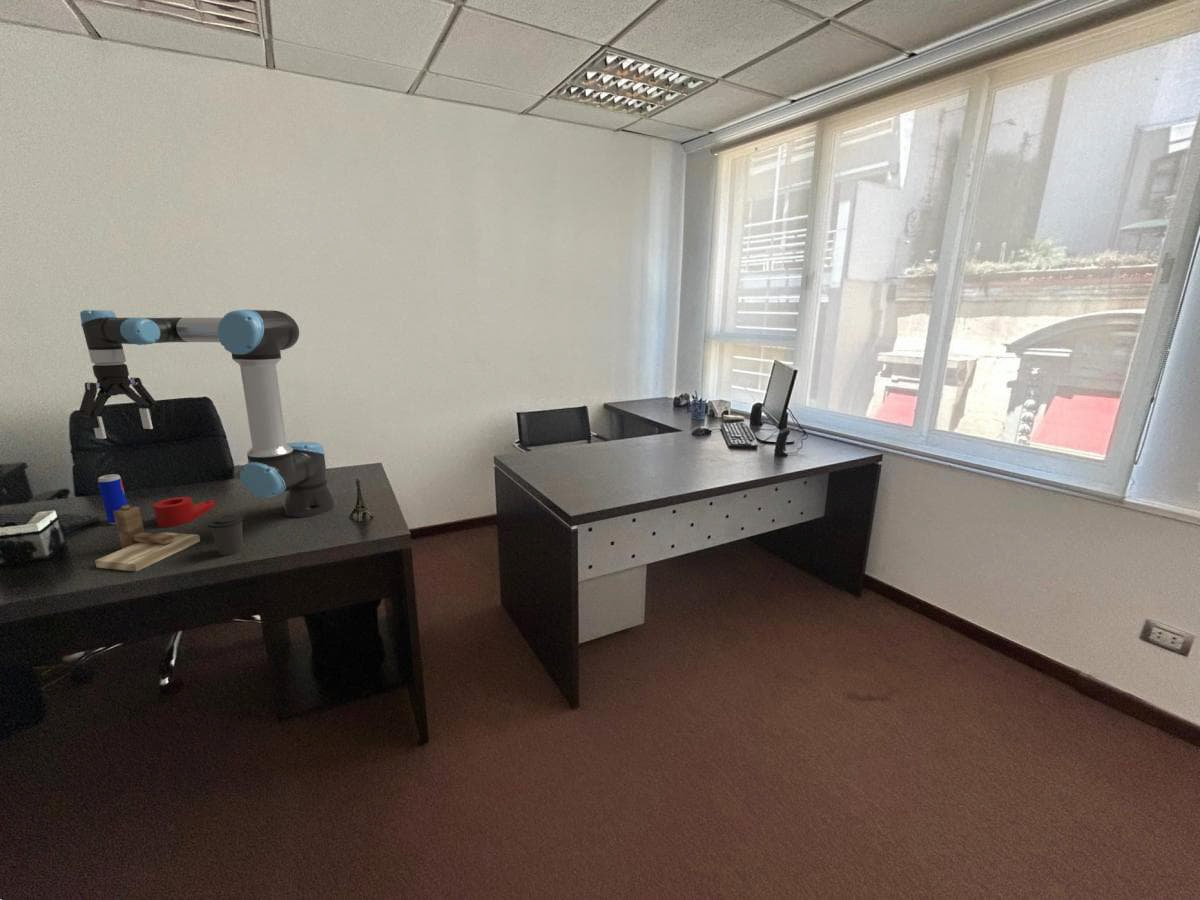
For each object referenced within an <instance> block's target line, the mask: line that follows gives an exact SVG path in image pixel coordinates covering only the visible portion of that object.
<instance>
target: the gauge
mask: <svg viewBox="0 0 1200 900" xmlns="http://www.w3.org/2000/svg"><path fill="white" fill-rule="evenodd" d="M121 508H122V509H119V510H116V511H113V514H114V518H115V522H116V524H115V525H116V529H117V532H118V537H119V540H120V545H121V548H122V549H123V548H126V547H128V546H131V545H133V544H135V543H138V542H149V543H160V544H167V543H169V542H171V541H174V538H173V535H167V534H159V533H154V532H152V533H151V532H145V527H144V523H143V520H142V515H141V514H142V513H141V511H140V507H139V506H130V504H127V505H123V506H121Z"/></svg>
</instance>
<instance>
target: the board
mask: <svg viewBox="0 0 1200 900" xmlns="http://www.w3.org/2000/svg"><path fill="white" fill-rule="evenodd" d="M158 534H167V535H173V538H174V541H171V542H169V543H167V544H160V543H149V542H138V543H135V544H133V545H131V546H128V547H126V548H123V549H118V550H117V551H115V552H114V551H113V552H112V553H110V554H106V555H104V556H102V557H99V558H98V559H95V560H94V563H95V567H96V568H97V569H108V570H110V569H111V570H119V571H131V572H138V571H140V570H142V569H144V568H147V567H149V566H151V565H153V564H155V563H158V562H159V561H161V560H163V559H165V558H169V557H170V556H172V555H174V554H176V553H178V552H181V551H183V550H186V549H187V548H189V547H192V546H193V545H195V544H197V543H199V542H201V538H200V535H199V534H194V533H193V534H192V533H191V534H190V533H182V532H181V533H179V532H168V531H162V532H160V533H158Z"/></svg>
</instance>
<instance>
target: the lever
mask: <svg viewBox="0 0 1200 900" xmlns="http://www.w3.org/2000/svg"><path fill="white" fill-rule="evenodd" d="M152 507H153V512H154V516H155V517H154V518H155V521H156V524H157V527H160V528H169V527H170V528H171V527H176V526H182V525H184V524H187V523H190V522H192V521H194V520H195V519H197V518H199V517H201V516H202V515H203V514H204V513H206V512H208V511H209V510H211V509H213V508H215V507H216V503H215V501H214V500H206V501H202V502H198V503H196V504H194V503H193V499H192V497H189V496H178V497H171V498H166V499H162V500H159V501H157V502H155V503H153V504H152Z"/></svg>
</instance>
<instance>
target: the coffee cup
mask: <svg viewBox="0 0 1200 900" xmlns="http://www.w3.org/2000/svg"><path fill="white" fill-rule="evenodd" d="M244 520H245V518H244V517H243V516H241V515H237V514H233V515H223V516H220V517H216V518H214V519H212V520H210V521H209V522H208V524H207V528H209V530H210V531H211V534H212V537H213V539H214V542H215V545H216V548H217V551H218V554H219V556H223V557H225V556H226V557H229V556H233V555H237V554H239V553H241V552H242V551H243V550H244V543H243V541H244V539H243V538H244V537H243V521H244Z"/></svg>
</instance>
